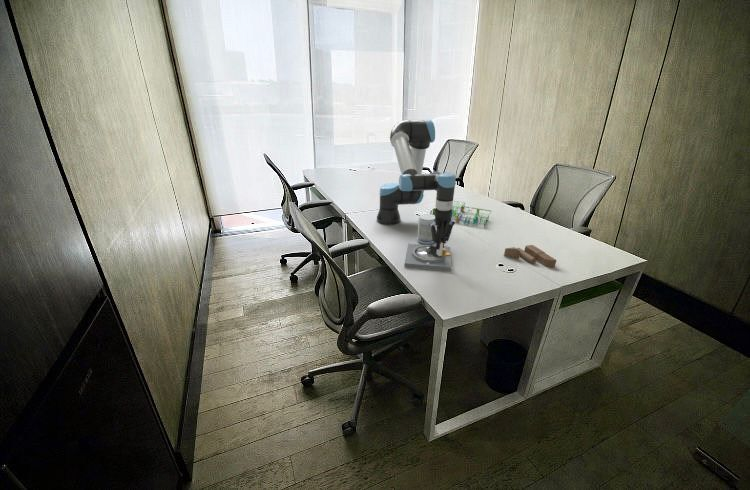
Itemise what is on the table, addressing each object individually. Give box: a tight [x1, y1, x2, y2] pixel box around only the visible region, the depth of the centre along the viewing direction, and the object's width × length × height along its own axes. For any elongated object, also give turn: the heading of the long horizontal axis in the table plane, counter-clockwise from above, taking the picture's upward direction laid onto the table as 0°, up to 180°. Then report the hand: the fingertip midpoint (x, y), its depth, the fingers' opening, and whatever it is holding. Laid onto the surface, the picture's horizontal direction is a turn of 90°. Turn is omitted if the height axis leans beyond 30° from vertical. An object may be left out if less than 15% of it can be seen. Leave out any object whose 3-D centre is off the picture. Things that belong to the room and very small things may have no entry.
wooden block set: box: [503, 244, 557, 268], centre depth 164 cm, size 17×6×18 cm
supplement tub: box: [417, 213, 436, 245], centre depth 182 cm, size 10×10×15 cm
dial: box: [416, 244, 446, 259], centre depth 164 cm, size 15×12×6 cm
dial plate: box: [403, 243, 452, 272], centre depth 166 cm, size 22×22×3 cm
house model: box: [429, 200, 492, 228], centre depth 220 cm, size 35×30×5 cm
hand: (439, 254), depth 160 cm, fingers closed
